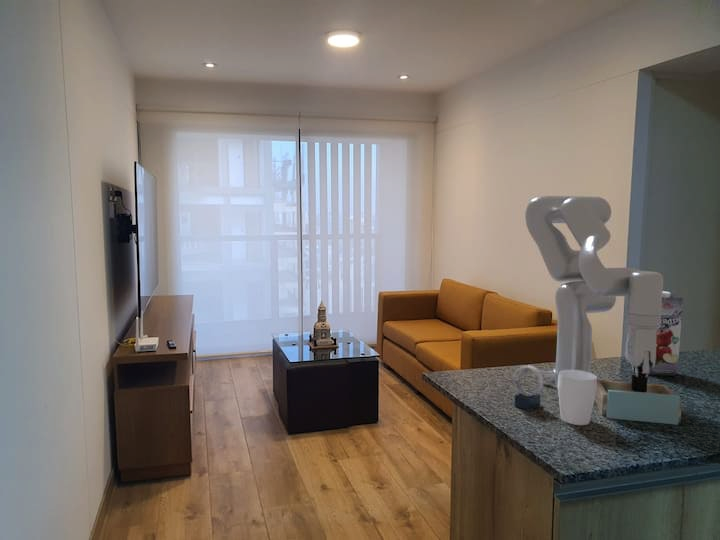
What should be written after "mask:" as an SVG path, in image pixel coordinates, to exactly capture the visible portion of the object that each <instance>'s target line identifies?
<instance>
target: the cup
mask: <svg viewBox="0 0 720 540" xmlns="http://www.w3.org/2000/svg"><path fill="white" fill-rule="evenodd" d="M597 378H598V376H597V375H596V374H594V373H592V372H591V371H590V372H586V371H581V370H562V371H560V372H559V377H558V389H557V393H558V395H557V396H558V404H559V413H560V420H561V421H563V422H565V423H568V424H570V425H575V426H576V425H577V426H586V425H588V424H590V422H591V418H592V414H593V413H592V412H593V408H594V404H595V402H594V400H595V396H596V391H597V380H598V379H597Z"/></svg>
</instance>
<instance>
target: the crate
mask: <svg viewBox="0 0 720 540" xmlns="http://www.w3.org/2000/svg"><path fill="white" fill-rule="evenodd" d="M631 385H632V381H630V382H629V381H617V380H605V379H604V380H603V379H597V391H596V396H595V400H594V404H595V406H596V408H597V409H598V411H599V414H600V415H601V417H603V416H604V417H606V413H607V396H608V390H619V391H631V392H634V391H633V390H632V389H631ZM643 393H656V394H668V395H677V394H675V392H674V391H673V390H671V388H670V387H669V386H668V385H667V384H659V383H658V384H657V383H647V392H643ZM682 407H683V401H682V399H681V398H680V406H679V419H678V424H679V423H680V424H681V421H682V419H681V418H682Z"/></svg>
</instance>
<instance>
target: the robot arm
mask: <svg viewBox="0 0 720 540" xmlns="http://www.w3.org/2000/svg"><path fill="white" fill-rule="evenodd" d="M524 216H525V225H526V228H527V230H528V232H529V234H530V236H531V238H532V239H533V241H534V242H535V244H536V246H537V247H538V249H539V252H540V255H541V257H542V260H543V261H544V264H545V267H546V269H547V271H548V274H549V275H550V277H551V278H552V279H553V280H554V281H556V282H560V283H561V282H562V283H563V284H561V285H560V286H559V287H558V288H557V290H556V291H555V296H554V299H555V306H556V313H557V329H556V332H557V333H556V334H557V335H556V337H557V339H556V353H555V354H556V357H555V367H553V368H552V370H541V369H539V370H540V372H541V373H542V375H543V380H544V379H545V380H546V379H547V380H549V382H548V383H549V385H550V386H551V387H552V388H553V389H555V390H558V377H559V372H560V371H562V370H581V371H586V372H590V373H591V357H592V341H593V329H592V325H591V322H590V320H589V318H588V315H587V314H597V313H604V312H605V313H606V312H609V311H610V310H612V308H613V307H614V306H615V304H616V301H617V297H627V307H626V308H627V309H626V311H627V312H626V326H628V327H627V332H626V333H627V334H626V341H625V342H626V343H625V350H624V352H625V353H624V358H625V360H626V361H627V362H628V363H629V364H630V365H631V368H632V375H631V382H632V385H631V389H632V390H633V391H634V392H647V384H648V379H649V378H648V377H649V375H648V374H649V367H650V368H653V367H654V366H655V360H656V329H659V328H660V322H661V307H662V292H663V291H664V290H663V289H664V276H663V274H661V273H660V272H657V271H649V270H642V269H638V268H635V267H605V265H604V264H603V263H602V262H601V261H602V260H600V258H599V256H598V253H597V252H598V251H599V250H601V249H603V248H604V247H605V246H606V245H607V244H608V243H609V241H610V240H611V232H610V230H609V229H608V228H607V226H606V225H605V224H607V223H608V221H610V219H611V217H612V208H611V205H610V203H609V202H608V201H607V199H605V198H603V197H600V196H577V195H575V196H573V195H571V196H570V195H541V196H537V197H535V198H533V199H532V200H530V201H529V202H528V204H527V206H526V210H525V215H524ZM554 224H565V225H566V226H567V229H569V231H570V232H571V234H572V236H573V238H574V239H575V241H576V242H577V244H578V246H579V248H580V250H575V249H573V248H572V247H571V246H570V245H569V243H568V241H567V240H568V239H567V238H566V236H565V235H564V234H563V232H562V231H561V230H560V229H558V227H556V226H555V225H554ZM564 282H565V283H564Z"/></svg>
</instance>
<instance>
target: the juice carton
mask: <svg viewBox="0 0 720 540" xmlns="http://www.w3.org/2000/svg"><path fill="white" fill-rule="evenodd" d="M682 317H683V297H681V296H678V295H676V294H671V292H670V291H666V290H665V291H664V290H663V292H662V307H661V322H660V328H659V329H656V360H655V366H654V367H653V368H650V367H649V374H648V376H664V377H675V376H676V374H677V370H678V367H679V358H680V356H679V355H680V344H681V332H682V331H681V330H682Z"/></svg>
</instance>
